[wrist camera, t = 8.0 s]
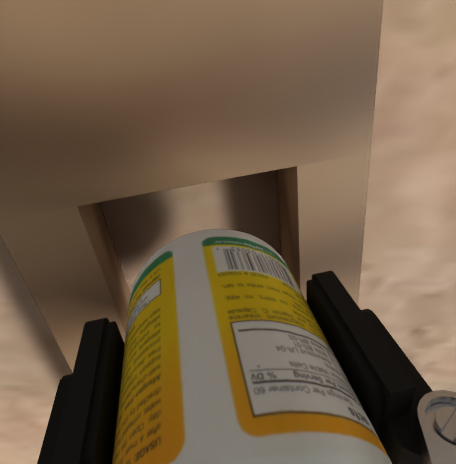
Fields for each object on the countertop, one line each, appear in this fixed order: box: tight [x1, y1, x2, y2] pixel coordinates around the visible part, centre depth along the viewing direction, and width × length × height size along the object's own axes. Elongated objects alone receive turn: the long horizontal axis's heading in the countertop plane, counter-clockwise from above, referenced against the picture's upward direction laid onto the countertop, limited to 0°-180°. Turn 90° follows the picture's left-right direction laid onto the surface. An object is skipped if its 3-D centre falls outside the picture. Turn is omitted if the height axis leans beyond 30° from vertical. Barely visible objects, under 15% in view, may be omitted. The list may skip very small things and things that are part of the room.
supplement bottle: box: [112, 229, 392, 464], centre depth 8 cm, size 5×5×10 cm
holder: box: [0, 0, 383, 372], centre depth 14 cm, size 18×12×2 cm, turn 7°
